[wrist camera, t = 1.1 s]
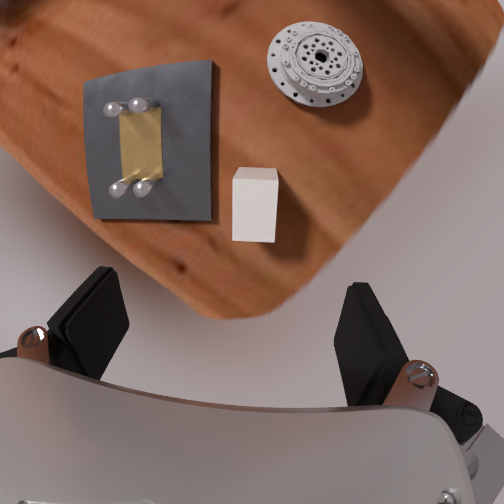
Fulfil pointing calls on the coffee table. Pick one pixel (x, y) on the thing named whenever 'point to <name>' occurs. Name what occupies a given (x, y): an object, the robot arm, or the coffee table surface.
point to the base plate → (150, 142)
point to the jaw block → (255, 204)
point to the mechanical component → (314, 64)
